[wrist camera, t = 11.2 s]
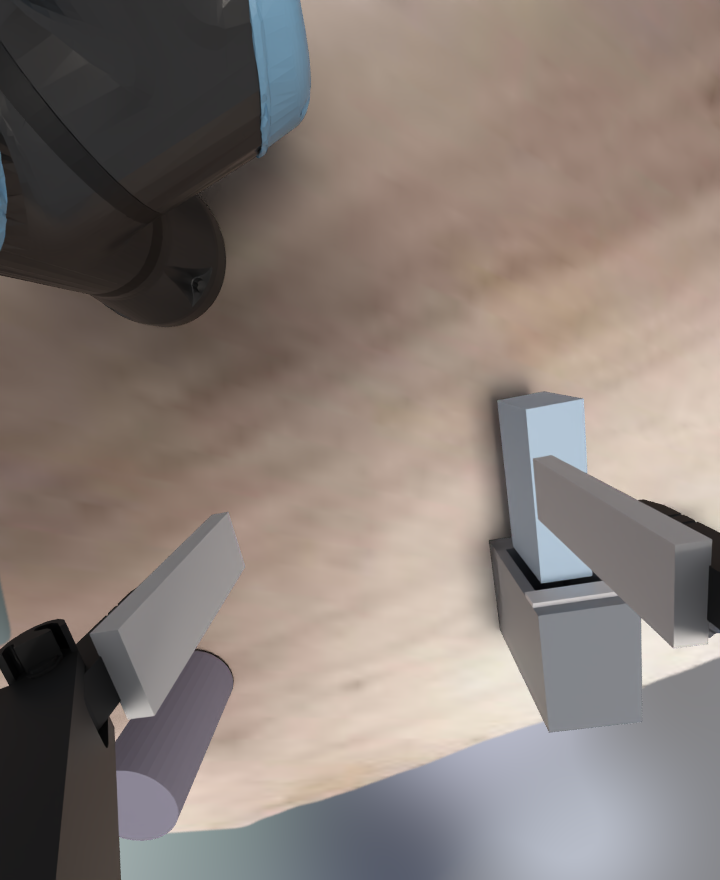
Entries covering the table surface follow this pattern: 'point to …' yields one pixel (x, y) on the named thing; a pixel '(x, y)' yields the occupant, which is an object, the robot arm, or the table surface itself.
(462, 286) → the table surface
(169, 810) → the container
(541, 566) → the tall blue-grey block
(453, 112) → the table surface
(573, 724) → the dispenser
